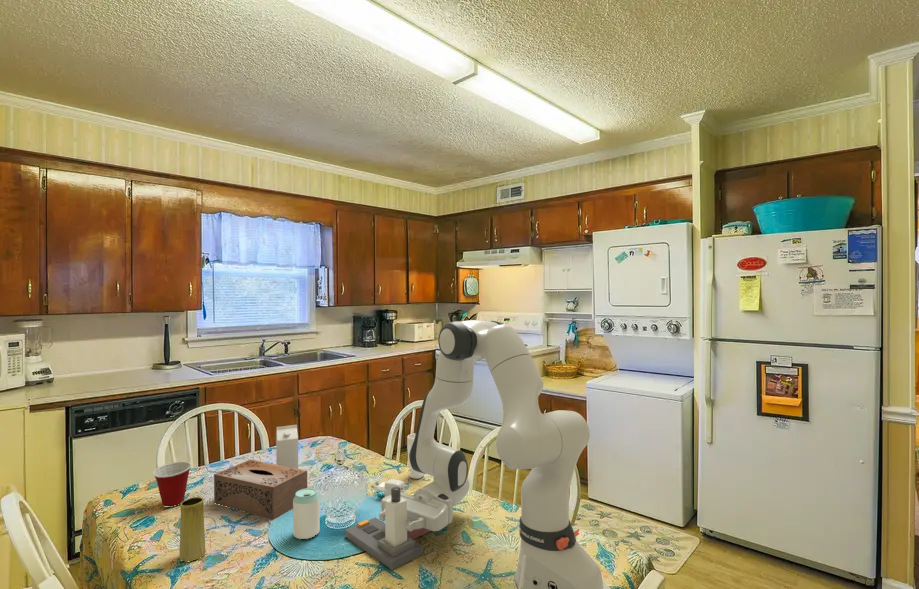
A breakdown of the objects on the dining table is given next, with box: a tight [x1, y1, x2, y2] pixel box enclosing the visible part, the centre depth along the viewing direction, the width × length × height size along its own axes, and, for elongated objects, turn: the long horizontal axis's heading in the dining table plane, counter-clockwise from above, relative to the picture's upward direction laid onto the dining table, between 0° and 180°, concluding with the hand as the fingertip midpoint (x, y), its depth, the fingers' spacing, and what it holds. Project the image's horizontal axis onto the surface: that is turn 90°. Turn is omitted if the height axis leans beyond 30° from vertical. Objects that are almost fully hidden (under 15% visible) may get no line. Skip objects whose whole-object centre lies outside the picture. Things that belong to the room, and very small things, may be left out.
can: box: [292, 487, 321, 540], centre depth 131 cm, size 7×7×12 cm
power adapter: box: [370, 478, 405, 498], centre depth 154 cm, size 11×5×6 cm, turn 67°
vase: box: [178, 496, 207, 562], centre depth 121 cm, size 6×6×14 cm
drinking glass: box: [406, 432, 425, 480], centre depth 172 cm, size 7×7×15 cm
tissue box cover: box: [213, 459, 308, 520], centre depth 152 cm, size 26×14×10 cm, turn 66°
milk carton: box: [275, 424, 299, 469], centre depth 172 cm, size 7×7×19 cm
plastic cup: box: [152, 461, 192, 506], centre depth 151 cm, size 11×11×12 cm
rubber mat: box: [407, 528, 432, 540], centre depth 134 cm, size 11×11×1 cm
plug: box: [384, 487, 407, 548], centre depth 121 cm, size 4×4×17 cm
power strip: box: [344, 517, 425, 571], centre depth 125 cm, size 22×10×4 cm, turn 44°
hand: (394, 522), depth 120 cm, fingers open, 8 cm apart
